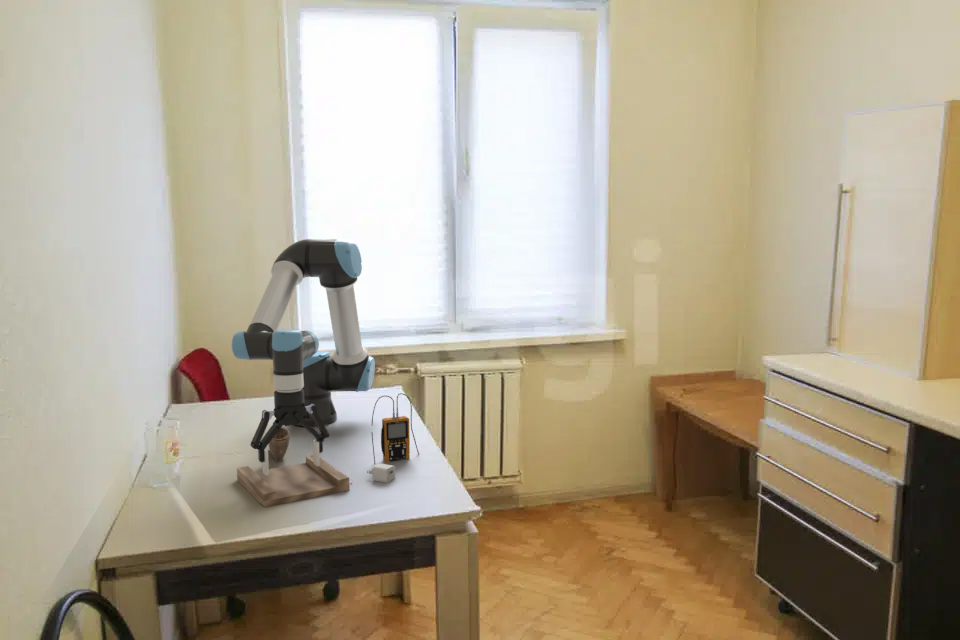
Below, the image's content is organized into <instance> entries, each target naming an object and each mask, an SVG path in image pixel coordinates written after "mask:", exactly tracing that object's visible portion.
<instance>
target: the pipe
mask: <svg viewBox="0 0 960 640" xmlns="http://www.w3.org/2000/svg"><path fill="white" fill-rule="evenodd" d="M290 437H291V431H290V430H289V429H288V428H286V427H285V426H282V427H281V428H280V429H279V430H278V431H277V433H276V434H275V436H274V437H273V438H272V440H271V441H270V442H269V444H268V448H269V451H270V454H271V457H273V459H274V460H275V461H276V462H282V460H283V459H284V457H285V455H286V453H287V451H288V447H289V443H290Z"/></svg>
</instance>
